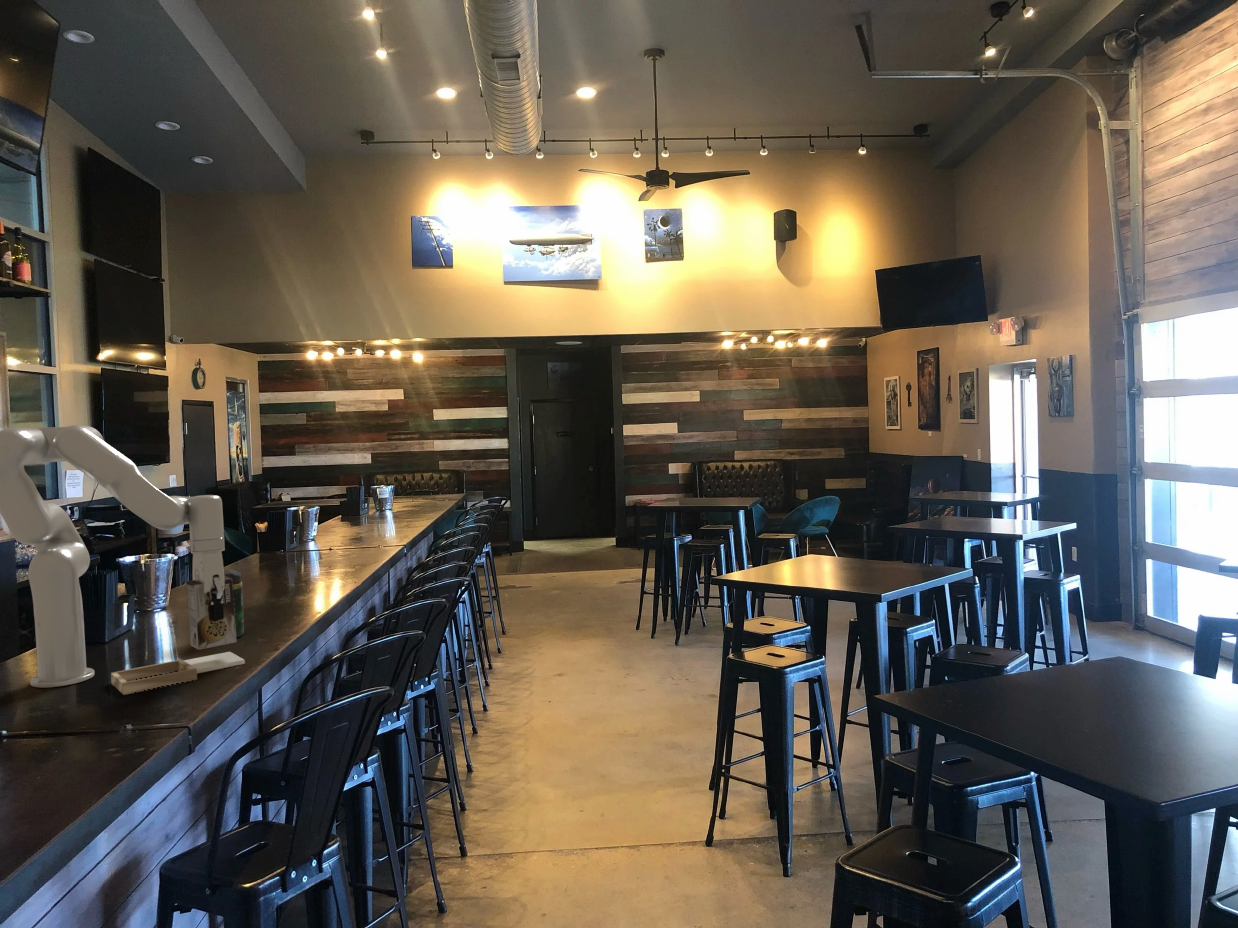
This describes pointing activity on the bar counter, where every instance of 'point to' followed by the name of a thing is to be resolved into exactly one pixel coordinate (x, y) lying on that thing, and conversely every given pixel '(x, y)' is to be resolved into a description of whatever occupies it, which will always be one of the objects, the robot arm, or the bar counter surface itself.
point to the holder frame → (125, 687)
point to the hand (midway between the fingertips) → (211, 617)
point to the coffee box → (200, 625)
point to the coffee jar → (237, 599)
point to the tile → (215, 662)
